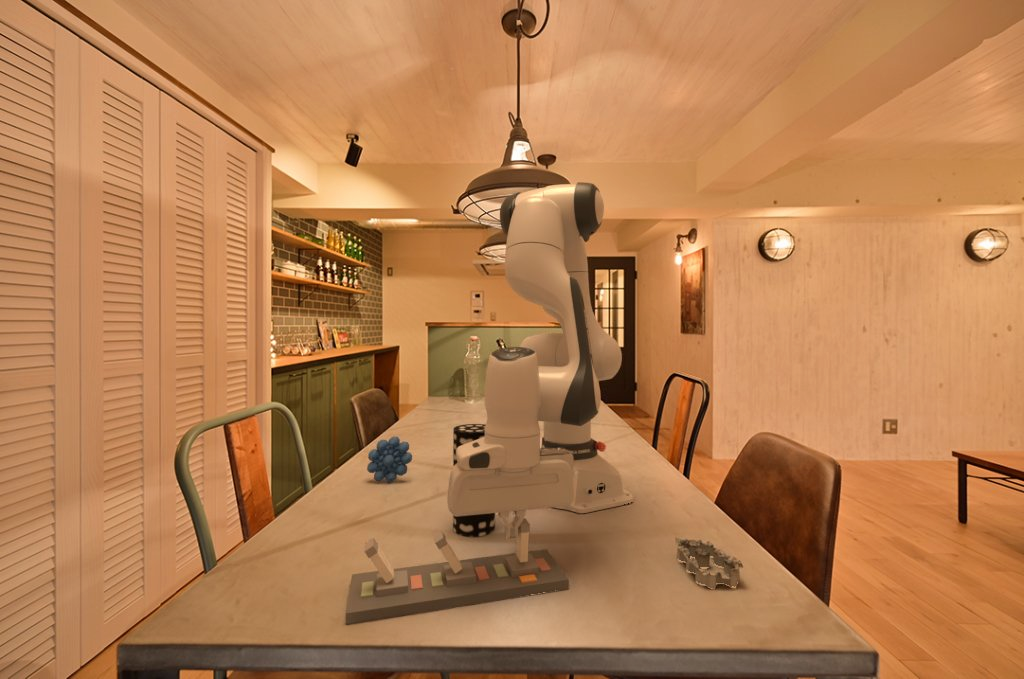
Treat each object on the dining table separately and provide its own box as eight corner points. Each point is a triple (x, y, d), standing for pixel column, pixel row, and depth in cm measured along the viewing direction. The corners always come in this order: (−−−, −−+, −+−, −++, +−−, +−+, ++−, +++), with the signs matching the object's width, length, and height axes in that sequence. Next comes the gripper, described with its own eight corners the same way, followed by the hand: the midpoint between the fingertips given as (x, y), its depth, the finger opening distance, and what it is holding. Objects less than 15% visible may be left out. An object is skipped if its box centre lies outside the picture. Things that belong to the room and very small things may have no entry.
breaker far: (394, 569, 68) (373, 537, 67) (394, 578, 65) (373, 545, 64) (385, 574, 68) (365, 543, 67) (385, 584, 65) (364, 551, 64)
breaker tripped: (523, 553, 73) (525, 517, 73) (528, 561, 71) (529, 524, 71) (515, 554, 73) (516, 518, 73) (520, 562, 70) (521, 525, 70)
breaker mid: (460, 560, 70) (441, 530, 70) (462, 568, 68) (443, 537, 67) (452, 565, 70) (433, 535, 69) (454, 574, 68) (435, 543, 67)
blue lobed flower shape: (415, 477, 121) (415, 432, 121) (410, 485, 114) (410, 438, 114) (371, 477, 121) (371, 432, 121) (364, 485, 114) (364, 438, 114)
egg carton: (746, 592, 69) (746, 565, 69) (697, 591, 69) (697, 565, 69) (714, 556, 79) (714, 533, 79) (671, 556, 79) (672, 533, 79)
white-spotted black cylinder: (462, 540, 84) (462, 434, 84) (447, 523, 92) (447, 426, 91) (501, 531, 88) (502, 430, 88) (484, 516, 96) (484, 422, 95)
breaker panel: (546, 557, 78) (546, 543, 78) (568, 589, 69) (568, 573, 69) (352, 583, 70) (352, 567, 70) (346, 624, 60) (346, 605, 60)
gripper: (566, 441, 77) (565, 522, 77) (446, 448, 72) (446, 534, 72) (581, 451, 71) (580, 538, 71) (451, 459, 66) (450, 553, 66)
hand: (511, 536), depth 71 cm, fingers closed
